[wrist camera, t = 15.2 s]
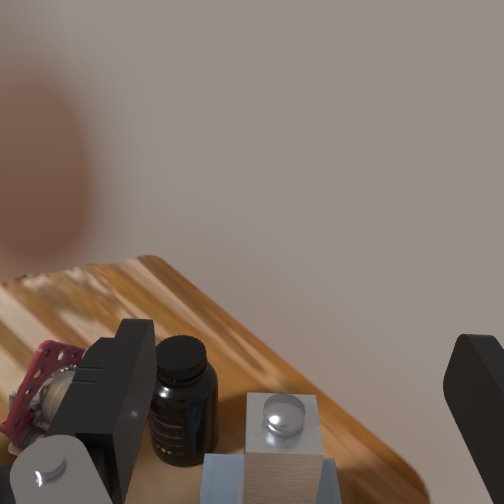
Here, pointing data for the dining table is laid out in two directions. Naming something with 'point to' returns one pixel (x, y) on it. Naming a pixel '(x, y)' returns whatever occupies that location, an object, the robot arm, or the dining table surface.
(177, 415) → the supplement bottle
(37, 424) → the brake caliper
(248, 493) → the block
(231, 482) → the stand
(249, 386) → the dining table surface
